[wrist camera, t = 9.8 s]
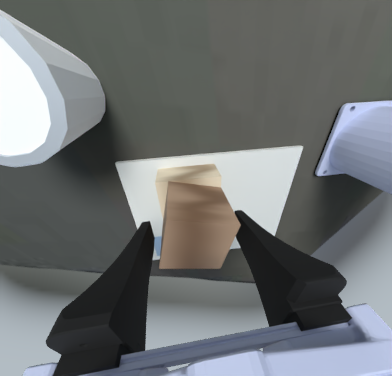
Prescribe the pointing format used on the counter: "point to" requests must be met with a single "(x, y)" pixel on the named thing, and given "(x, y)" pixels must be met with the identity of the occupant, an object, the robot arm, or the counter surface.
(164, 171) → the maple base block
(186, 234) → the walnut block
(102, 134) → the counter surface
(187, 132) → the counter surface
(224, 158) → the plate
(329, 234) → the counter surface
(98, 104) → the white tapered cup
